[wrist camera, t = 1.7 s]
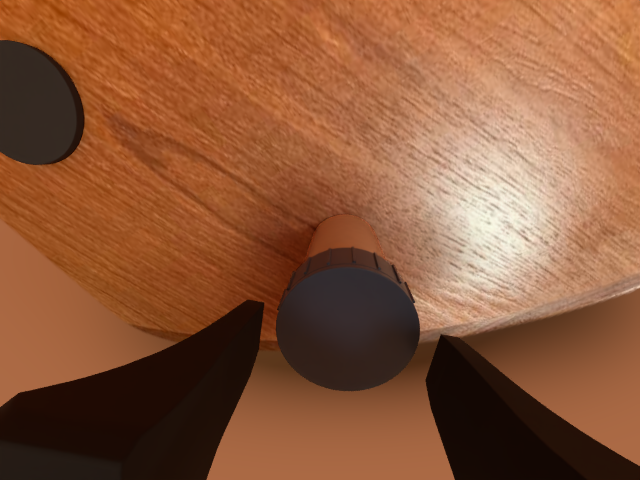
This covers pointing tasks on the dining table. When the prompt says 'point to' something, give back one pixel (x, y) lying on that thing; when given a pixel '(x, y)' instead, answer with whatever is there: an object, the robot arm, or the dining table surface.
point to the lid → (347, 320)
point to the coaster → (36, 106)
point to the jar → (344, 235)
